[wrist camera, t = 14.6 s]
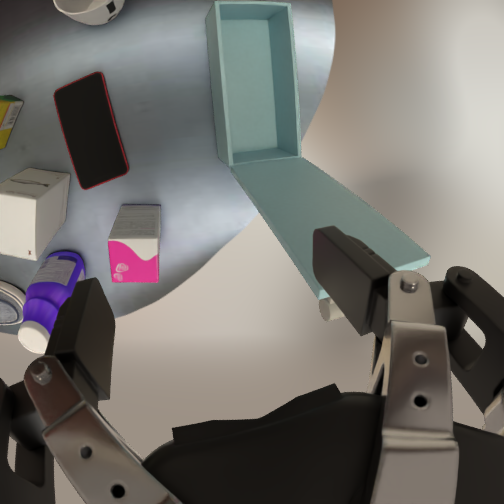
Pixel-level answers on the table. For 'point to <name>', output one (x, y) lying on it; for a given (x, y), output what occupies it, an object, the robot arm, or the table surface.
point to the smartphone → (90, 131)
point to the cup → (90, 10)
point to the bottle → (48, 298)
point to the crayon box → (8, 116)
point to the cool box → (253, 81)
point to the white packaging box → (31, 211)
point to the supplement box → (135, 244)
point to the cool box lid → (320, 218)
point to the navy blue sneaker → (11, 304)
